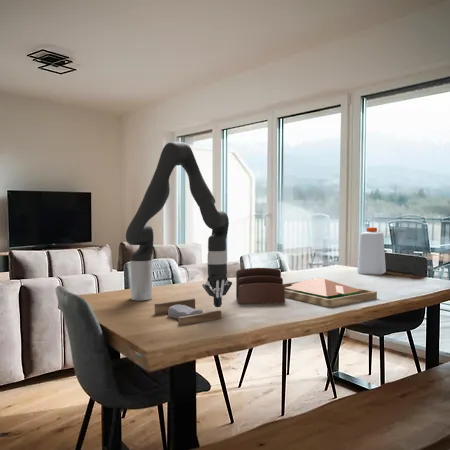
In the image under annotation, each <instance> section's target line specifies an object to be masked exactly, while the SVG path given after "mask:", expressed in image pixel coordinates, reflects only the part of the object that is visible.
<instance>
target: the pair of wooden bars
mask: <svg viewBox="0 0 450 450" xmlns="http://www.w3.org/2000/svg"><path fill="white" fill-rule="evenodd" d="M173 305H185V306H188V307H191V308H193V309H196V298H193V297H192V298H186V299H185V298H184V299H178V300H172V301H166V302H157V303H154V315H156V316H159V315H164V314H168V310H169V307H171V306H173ZM219 319H222V310H214V311H207V312H203V313H201V314H195V315H189V316H182V317H178V319H177V321H178V322H177V323H178V324H177V325H178V326H183V325H185V326H186V325H190V324H194V323H201V322H207V321H213V320H219Z"/></svg>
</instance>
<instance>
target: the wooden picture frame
mask: <svg viewBox="0 0 450 450" xmlns="http://www.w3.org/2000/svg"><path fill="white" fill-rule="evenodd" d="M302 281H303V280H302ZM302 281H295V282H287V283H283V285H284V286H285V298H287V299H292V300H295V301H300V302H304V303H309V304H314V305H318V306H321V307H325V308H326V307H327V308H332V307H333V308H334V307H338V306H340V307H341V306H343V305H349V304H355V303H359V302H360V303H361V302H366V301H370V300H376V299H378V291H377V290H376V291H375V290H368V289H364V288H357V287H354V286H353V287H352V286H351V287H352V288H355V289H359V290H361V291H359V294H356V295H352V294H351V295H350V296H349V295H348V296H347V295H346V296H344V297H340V296H339V298H337V297H336V298H334V297H332V298H331V299H330V298H327V299H326V297H322V298H321V296H319V297H318V295H317V296H316V295H315V296H314V295H313V296H312V295H310V294H309V295H308V293H307V294H306V293H305V294H304V293H303V292H302V293H300V292H299V291H297V292H295V291H294V290H291V289H286V287H289V286H293V285H291V284H295V283H298V282H302ZM298 292H299V293H298ZM357 293H358V292H357ZM354 294H355V293H354Z"/></svg>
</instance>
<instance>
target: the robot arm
mask: <svg viewBox="0 0 450 450" xmlns="http://www.w3.org/2000/svg"><path fill="white" fill-rule="evenodd" d="M176 166H181V167H182V168H183V169H184V171H185V172H186V174H187V177H188V183H189V184H188V185H189V190H190V193H191V196H192V198H193V200H194V201H195V203H196V205H197V206H198V207H199V212H200V214H201V217H202V221H203V222H204V224H205V225H206V226H207V228H209V229H210V230H211V235H210V236H209V237H208V239H207V276H208V277H207V279H206V282H205V283H203V284H202V288H203V290H205V293H207V295H208V296H209V297H213V306H214V307H215V308H221V307H222V304H223V303H222V302H223V301H222V300H223V296H226V295H227V294H228V291H230V288H231V286H232V285H233V282H232V281H230V280H229V279H228V257H227V256H228V255H227V254H228V253H227V237H228V231H229V224H230V223H229V216H228V214H227V213H226V212H225V211H223V210H218V209H217V208H216V205H215V204H216V199H215V196H214V195H213V194H212V191H211V190H210V188H209V186H208V185H207V183H206V182H205V179H204V177H203V175H202V172H201V170H200V167H199V164H198V162H197V160H196V158H195V155H194V151H193V150H192V148H191V146H190V145H189V144H188V143H187V142H184V141H183V142H182V141H170V142H167V143H166V144H165V145H164V147H163V148H162V150H161V153H160V157H159V159H158V163H157V165H156V168H155V171H154V173H153V175H152V178H151V180H150V183H149V185H148V187H147V189H146V191H145V193H144V195H143V198H142V201H141V203H140V204H139V206H138V210H137V211H136V213H135V215H134V216H133V218H132V219H131V221H130V223H129V225H128V227H127V229H126V231H125V240H126V242H127V244H129V245H130V246H138V248H137V250H135V251H134V252H131V254H130V261H129V262H130V265H129V266H130V300H132V301H138V302H139V301H149V300H152V299H153V280H152V279H153V274H152V273H153V268H152V266H153V265H152V264H153V263H152V258H153V252H154V229H153V228H152V226H151V225H150V224H148V223H149V221H150V220H151V219H153V217H154V216H156V215H157V214H158V213H159V212H160V211H161V210H162V209H163V208H164V206H165V204H166V202H167V200H168V198H169V196H170V192H171V186H170V177H171V175H172V172H173V170H174V169H175V168H176Z"/></svg>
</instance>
